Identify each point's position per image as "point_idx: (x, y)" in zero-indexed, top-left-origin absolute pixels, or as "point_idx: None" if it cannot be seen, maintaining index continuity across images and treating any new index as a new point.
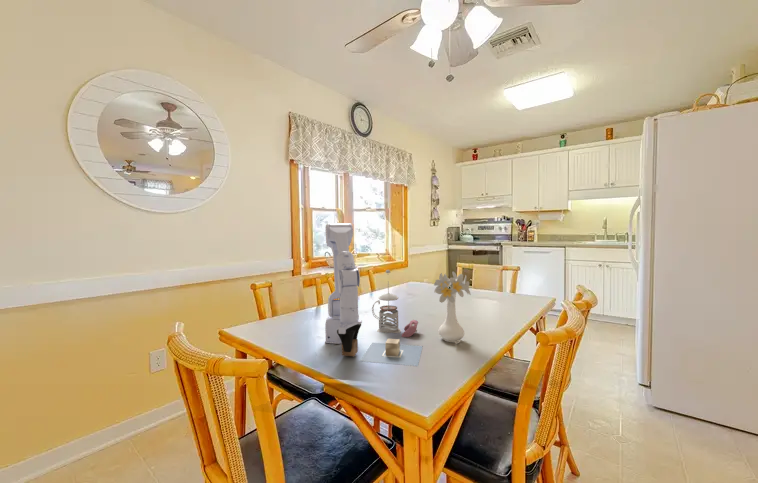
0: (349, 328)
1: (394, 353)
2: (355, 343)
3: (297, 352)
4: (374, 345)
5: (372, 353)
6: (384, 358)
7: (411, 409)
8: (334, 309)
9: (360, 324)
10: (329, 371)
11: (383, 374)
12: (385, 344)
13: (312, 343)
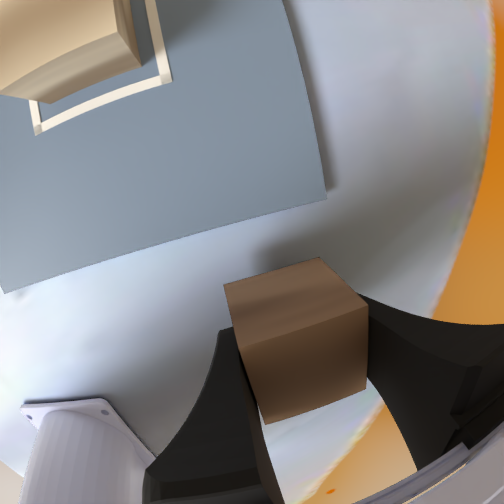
0: (474, 432)
1: (126, 1)
2: (310, 313)
3: (291, 470)
4: (24, 253)
5: (154, 179)
6: (209, 44)
7: None
8: None
9: (207, 497)
10: (427, 285)
11: (379, 13)
12: (122, 36)
13: None
